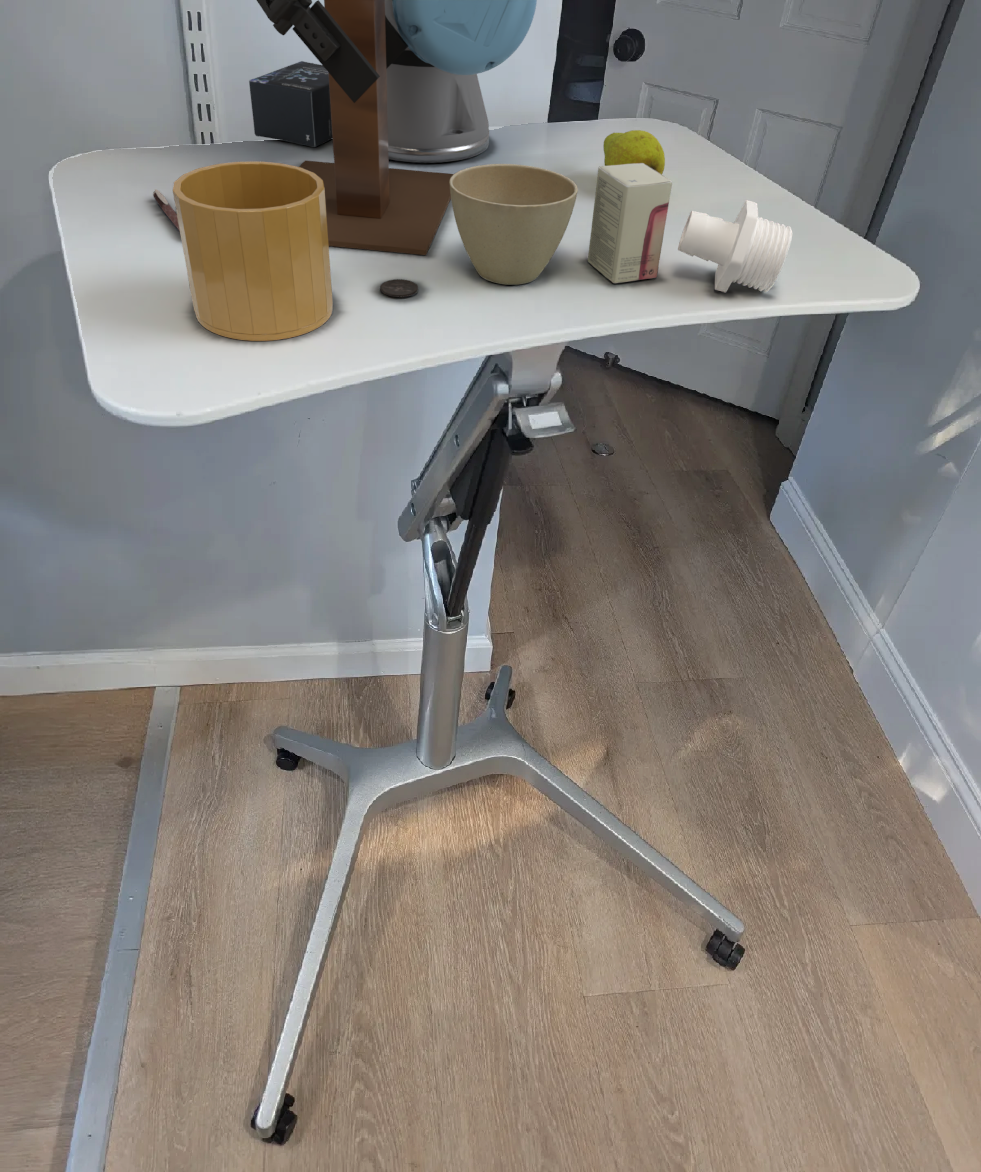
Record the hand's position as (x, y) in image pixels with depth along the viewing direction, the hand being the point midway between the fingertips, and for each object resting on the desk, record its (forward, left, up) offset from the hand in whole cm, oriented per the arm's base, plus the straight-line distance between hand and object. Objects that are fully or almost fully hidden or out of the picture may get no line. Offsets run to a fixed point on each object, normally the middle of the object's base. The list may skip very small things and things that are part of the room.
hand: (383, 73), depth 74 cm
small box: (+7, +22, -12) cm, 26 cm away
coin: (+15, +4, -12) cm, 20 cm away
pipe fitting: (+7, +26, -8) cm, 28 cm away
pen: (+5, -18, -12) cm, 22 cm away
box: (-29, -12, -9) cm, 33 cm away
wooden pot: (+21, -5, -12) cm, 24 cm away
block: (0, -2, -11) cm, 12 cm away
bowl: (+10, +12, -12) cm, 20 cm away
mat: (-2, -3, -12) cm, 12 cm away
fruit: (-10, +24, -9) cm, 27 cm away
